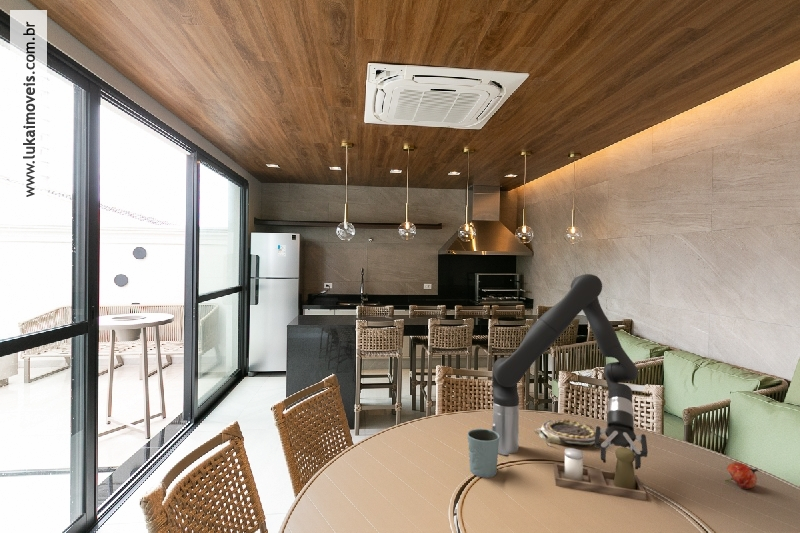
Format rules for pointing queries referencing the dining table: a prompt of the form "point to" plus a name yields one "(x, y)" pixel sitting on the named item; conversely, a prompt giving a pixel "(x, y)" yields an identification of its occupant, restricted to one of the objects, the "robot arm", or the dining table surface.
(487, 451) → the teal cup
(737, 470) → the pomegranate
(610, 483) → the cruet caddy
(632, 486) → the olive mushroom knob
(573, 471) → the salt shaker
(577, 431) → the pie
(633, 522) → the dining table surface
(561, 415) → the dining table surface
